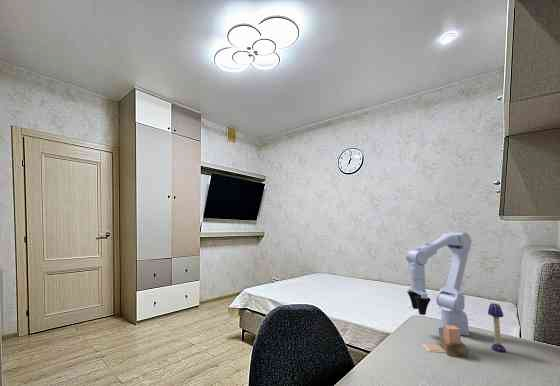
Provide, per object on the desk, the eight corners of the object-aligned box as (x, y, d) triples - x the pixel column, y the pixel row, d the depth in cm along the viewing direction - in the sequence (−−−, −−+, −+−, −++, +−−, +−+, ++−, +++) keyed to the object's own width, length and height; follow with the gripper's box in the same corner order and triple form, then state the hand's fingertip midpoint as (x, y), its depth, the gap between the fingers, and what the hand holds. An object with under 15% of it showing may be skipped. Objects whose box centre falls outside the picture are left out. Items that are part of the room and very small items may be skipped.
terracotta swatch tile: (438, 345, 103) (438, 344, 103) (445, 352, 98) (445, 351, 98) (422, 344, 104) (422, 343, 104) (428, 351, 98) (428, 350, 98)
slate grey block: (448, 339, 109) (447, 327, 109) (455, 344, 105) (455, 330, 105) (439, 340, 108) (438, 327, 109) (446, 344, 104) (445, 331, 105)
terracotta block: (454, 339, 100) (453, 325, 101) (461, 343, 97) (460, 329, 97) (443, 338, 101) (442, 324, 101) (449, 343, 97) (448, 328, 97)
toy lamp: (507, 354, 97) (504, 306, 99) (491, 351, 99) (488, 304, 101) (504, 348, 101) (501, 303, 103) (489, 346, 104) (486, 301, 106)
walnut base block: (459, 350, 100) (458, 339, 101) (466, 358, 94) (465, 346, 95) (441, 348, 102) (441, 337, 102) (447, 355, 96) (446, 344, 96)
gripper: (402, 275, 122) (403, 305, 121) (413, 281, 108) (415, 316, 106) (418, 275, 121) (420, 306, 120) (432, 282, 107) (433, 317, 105)
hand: (418, 311), depth 113 cm, fingers open, 7 cm apart
